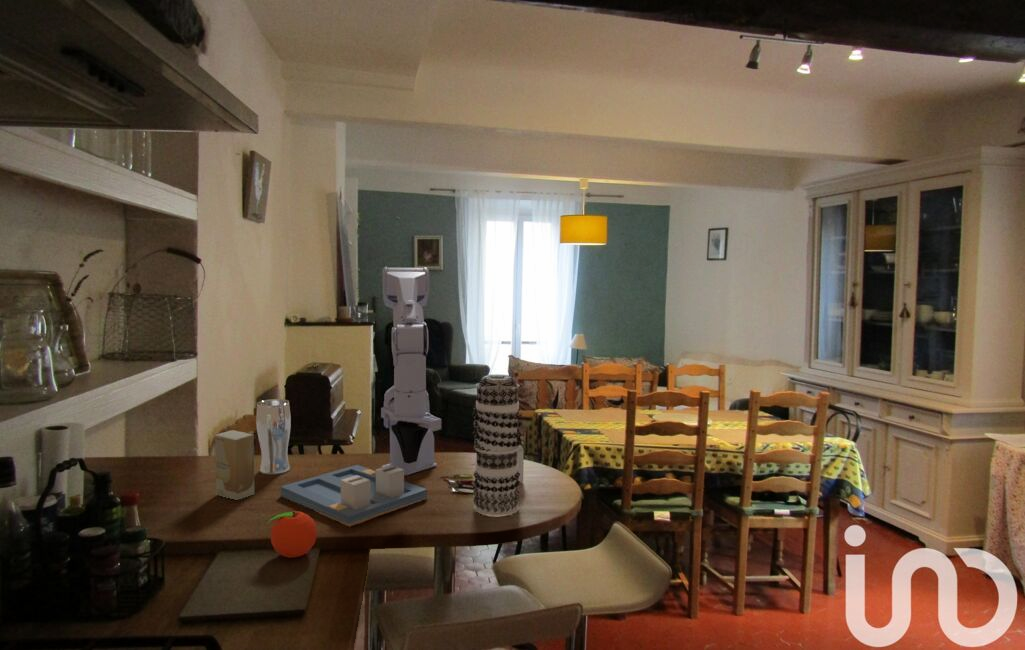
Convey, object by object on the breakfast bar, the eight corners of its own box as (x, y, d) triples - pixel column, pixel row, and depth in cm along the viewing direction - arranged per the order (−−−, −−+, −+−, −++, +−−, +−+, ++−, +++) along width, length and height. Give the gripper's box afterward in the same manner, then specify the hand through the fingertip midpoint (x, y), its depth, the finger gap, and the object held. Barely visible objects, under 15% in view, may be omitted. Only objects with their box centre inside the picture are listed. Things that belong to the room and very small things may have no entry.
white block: (390, 488, 133) (390, 464, 132) (404, 493, 130) (403, 469, 130) (375, 493, 130) (375, 468, 129) (389, 498, 127) (389, 473, 127)
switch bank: (357, 473, 145) (357, 464, 145) (427, 499, 131) (427, 488, 131) (281, 496, 131) (280, 485, 131) (349, 527, 117) (349, 515, 117)
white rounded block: (523, 487, 138) (524, 430, 137) (495, 487, 138) (496, 429, 137) (523, 480, 142) (523, 424, 141) (496, 479, 142) (496, 424, 141)
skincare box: (215, 495, 131) (212, 434, 130) (233, 489, 135) (231, 429, 134) (238, 502, 128) (235, 439, 127) (256, 494, 132) (254, 433, 131)
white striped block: (357, 499, 127) (356, 474, 126) (370, 505, 124) (370, 479, 124) (340, 505, 124) (340, 479, 123) (354, 510, 121) (353, 484, 121)
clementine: (260, 567, 102) (258, 522, 102) (268, 547, 109) (267, 505, 108) (314, 564, 104) (313, 519, 103) (319, 544, 111) (318, 502, 110)
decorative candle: (463, 513, 124) (463, 379, 121) (483, 496, 133) (485, 370, 130) (509, 521, 121) (511, 383, 118) (527, 503, 129) (529, 374, 126)
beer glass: (279, 463, 152) (277, 397, 150) (298, 469, 147) (297, 401, 146) (251, 471, 146) (249, 402, 144) (270, 477, 142) (268, 407, 140)
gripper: (367, 387, 125) (368, 458, 127) (420, 398, 116) (420, 475, 118) (397, 381, 131) (397, 450, 132) (449, 392, 121) (449, 466, 123)
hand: (410, 461), depth 125 cm, fingers closed
